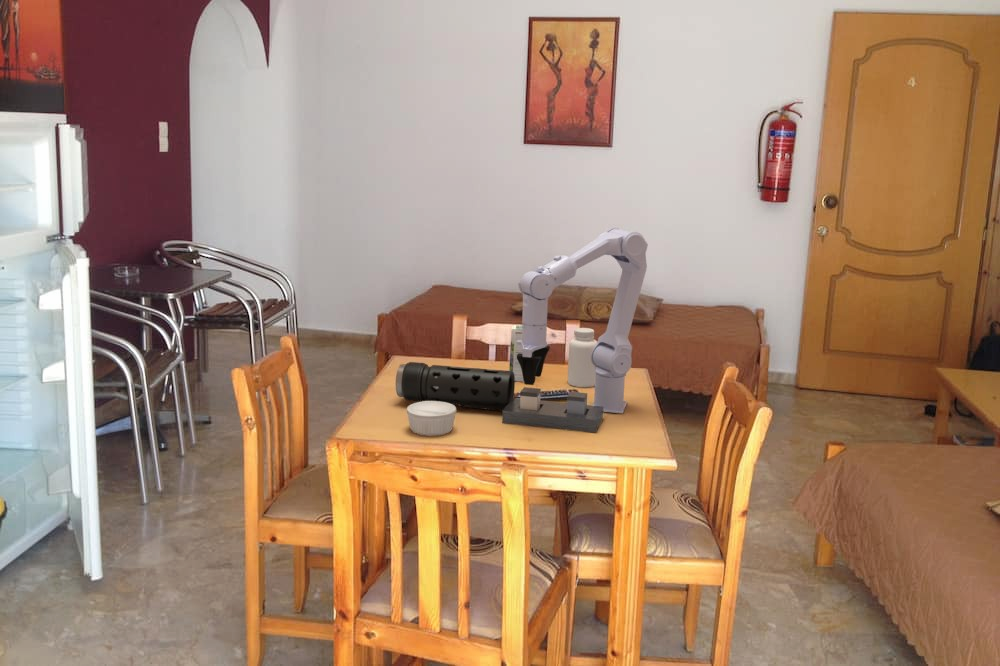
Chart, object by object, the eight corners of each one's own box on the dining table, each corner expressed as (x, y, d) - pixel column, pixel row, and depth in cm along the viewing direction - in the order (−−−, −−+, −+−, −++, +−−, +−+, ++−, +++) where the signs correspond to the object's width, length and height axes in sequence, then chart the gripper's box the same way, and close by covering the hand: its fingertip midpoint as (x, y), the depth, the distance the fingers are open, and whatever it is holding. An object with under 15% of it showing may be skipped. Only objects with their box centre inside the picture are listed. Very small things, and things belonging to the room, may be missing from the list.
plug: (523, 415, 227) (524, 387, 225) (539, 416, 226) (540, 388, 224) (519, 420, 223) (520, 391, 222) (536, 421, 222) (537, 393, 221)
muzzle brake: (506, 417, 225) (508, 375, 223) (394, 407, 231) (394, 366, 229) (514, 406, 235) (515, 365, 232) (405, 396, 240) (406, 357, 238)
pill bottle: (564, 386, 253) (566, 331, 250) (571, 378, 260) (573, 325, 257) (593, 389, 251) (596, 334, 247) (599, 381, 258) (602, 328, 255)
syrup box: (509, 376, 262) (511, 324, 258) (530, 376, 261) (532, 325, 258) (508, 381, 256) (510, 329, 253) (530, 382, 256) (532, 329, 253)
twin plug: (569, 420, 224) (570, 391, 223) (586, 421, 223) (587, 393, 222) (566, 425, 220) (567, 396, 219) (583, 426, 220) (584, 397, 218)
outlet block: (513, 409, 231) (513, 397, 230) (603, 418, 226) (603, 406, 225) (502, 422, 221) (502, 410, 220) (595, 432, 215) (596, 420, 215)
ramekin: (411, 439, 208) (411, 416, 207) (402, 424, 218) (402, 402, 217) (461, 436, 211) (461, 413, 210) (449, 421, 221) (450, 399, 220)
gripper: (524, 316, 227) (523, 371, 230) (510, 328, 214) (508, 386, 217) (553, 318, 226) (551, 373, 229) (540, 330, 212) (538, 389, 215)
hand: (532, 380), depth 223 cm, fingers open, 7 cm apart
